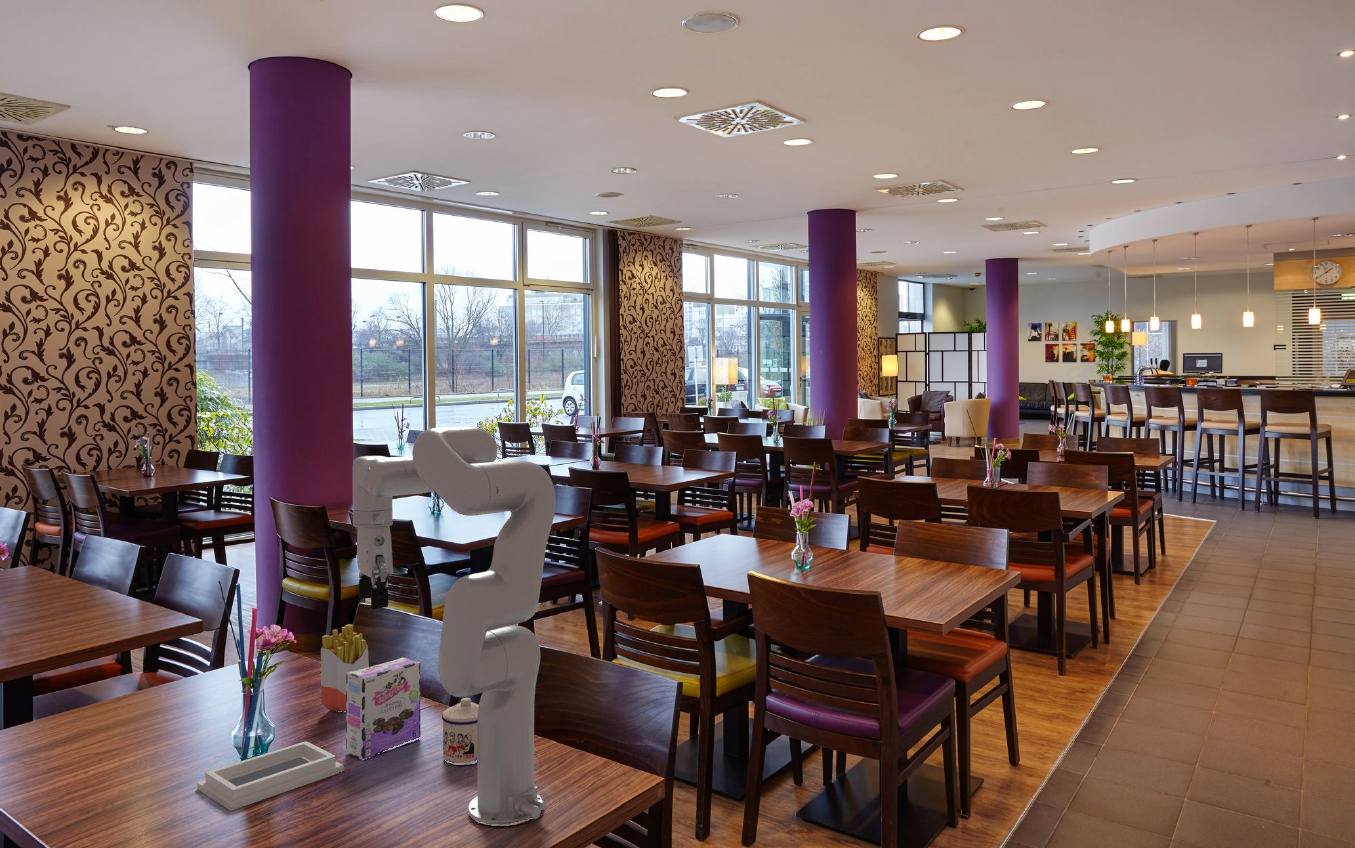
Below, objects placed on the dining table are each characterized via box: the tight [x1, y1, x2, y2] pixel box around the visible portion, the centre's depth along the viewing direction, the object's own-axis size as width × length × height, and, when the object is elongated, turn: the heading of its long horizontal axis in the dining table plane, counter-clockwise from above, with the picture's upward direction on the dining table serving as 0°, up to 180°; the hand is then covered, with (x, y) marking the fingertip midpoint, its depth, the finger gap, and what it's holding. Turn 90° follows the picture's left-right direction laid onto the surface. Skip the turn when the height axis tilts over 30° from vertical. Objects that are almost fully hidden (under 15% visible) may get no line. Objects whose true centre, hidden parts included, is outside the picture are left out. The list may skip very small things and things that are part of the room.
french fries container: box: [320, 623, 370, 712], centre depth 204 cm, size 5×11×18 cm, turn 160°
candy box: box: [345, 657, 422, 760], centre depth 182 cm, size 14×6×16 cm, turn 143°
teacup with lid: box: [441, 697, 479, 763], centre depth 177 cm, size 12×9×12 cm
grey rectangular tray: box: [196, 740, 345, 812], centre depth 167 cm, size 13×21×3 cm, turn 140°
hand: (373, 602), depth 182 cm, fingers open, 9 cm apart
